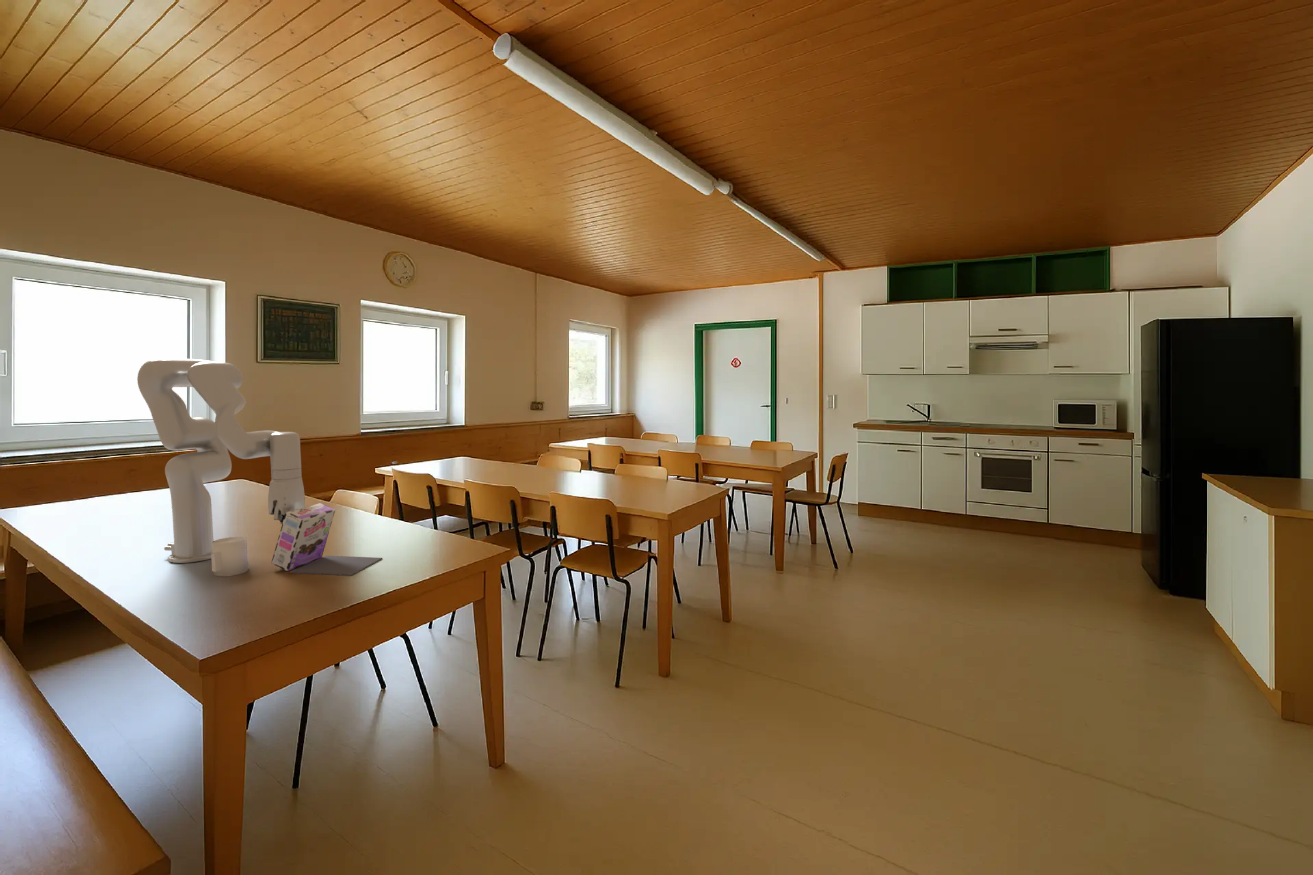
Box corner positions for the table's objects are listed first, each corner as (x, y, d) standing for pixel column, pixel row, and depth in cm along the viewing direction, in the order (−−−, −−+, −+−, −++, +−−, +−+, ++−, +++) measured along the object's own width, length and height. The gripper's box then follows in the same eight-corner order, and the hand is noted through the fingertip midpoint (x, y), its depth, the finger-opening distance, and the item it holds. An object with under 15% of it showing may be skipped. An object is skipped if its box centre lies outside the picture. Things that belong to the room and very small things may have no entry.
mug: (200, 577, 167) (198, 545, 166) (229, 566, 176) (227, 536, 176) (227, 579, 166) (226, 546, 165) (255, 568, 176) (253, 537, 175)
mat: (290, 573, 172) (290, 571, 172) (326, 556, 188) (326, 555, 187) (351, 575, 170) (351, 574, 170) (382, 559, 186) (382, 557, 186)
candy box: (287, 572, 173) (302, 519, 170) (270, 563, 173) (284, 511, 171) (322, 558, 186) (336, 509, 184) (306, 550, 187) (320, 501, 185)
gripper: (292, 470, 185) (294, 529, 187) (255, 478, 171) (258, 542, 172) (315, 471, 185) (318, 530, 186) (280, 478, 170) (283, 543, 172)
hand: (289, 536), depth 179 cm, fingers closed
